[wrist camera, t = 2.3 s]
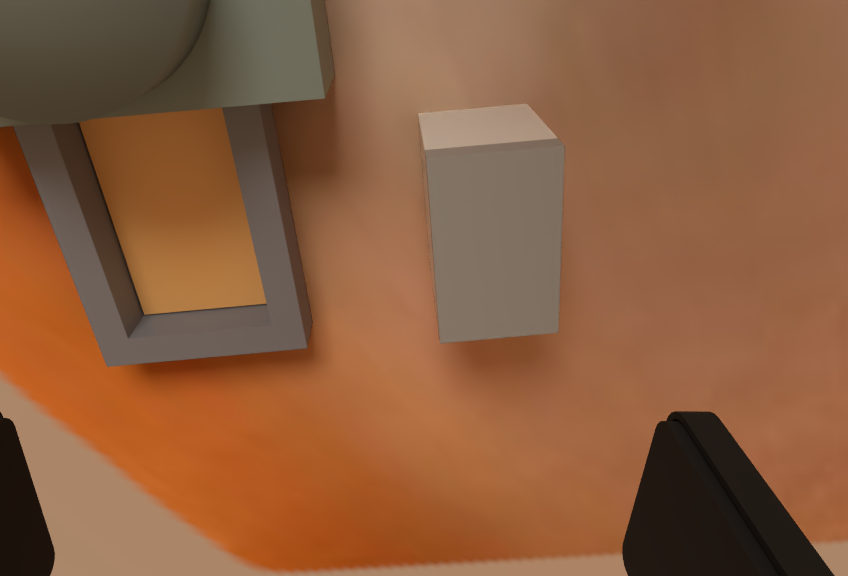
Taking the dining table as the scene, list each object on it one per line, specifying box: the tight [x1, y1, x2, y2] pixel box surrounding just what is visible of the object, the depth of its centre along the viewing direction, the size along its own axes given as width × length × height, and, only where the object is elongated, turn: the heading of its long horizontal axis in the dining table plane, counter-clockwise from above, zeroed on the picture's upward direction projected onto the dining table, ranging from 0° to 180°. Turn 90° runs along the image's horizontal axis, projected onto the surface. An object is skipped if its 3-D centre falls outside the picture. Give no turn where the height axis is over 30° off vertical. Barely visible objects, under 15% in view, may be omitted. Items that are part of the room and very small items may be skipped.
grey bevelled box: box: [418, 104, 565, 344], centre depth 27 cm, size 5×8×7 cm, turn 4°
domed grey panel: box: [0, 0, 335, 367], centre depth 24 cm, size 16×24×8 cm
